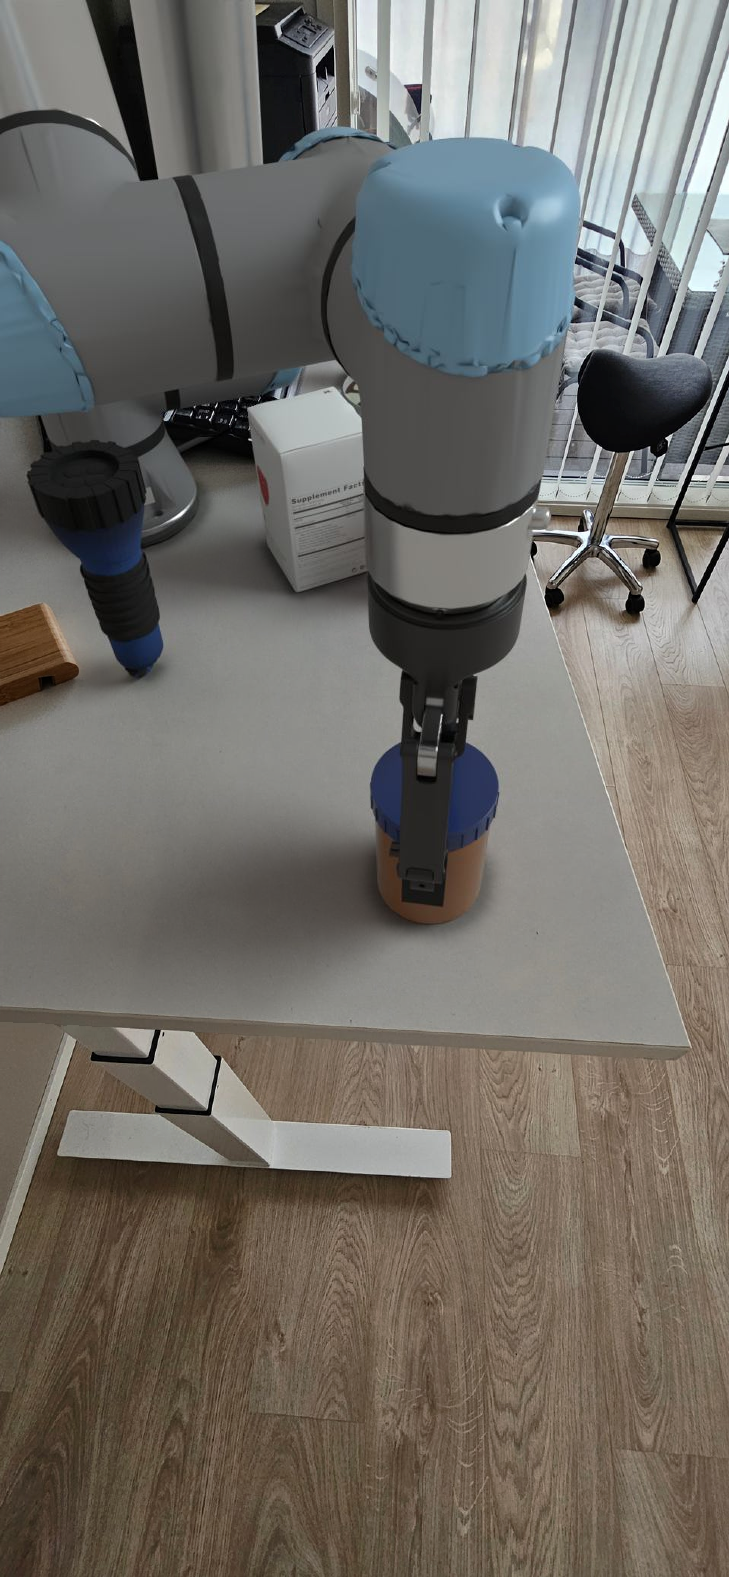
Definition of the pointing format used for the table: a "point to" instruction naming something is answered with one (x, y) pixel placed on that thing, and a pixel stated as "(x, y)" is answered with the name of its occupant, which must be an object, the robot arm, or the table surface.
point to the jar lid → (468, 797)
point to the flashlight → (104, 540)
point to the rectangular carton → (311, 485)
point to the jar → (458, 888)
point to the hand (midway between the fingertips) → (431, 839)
